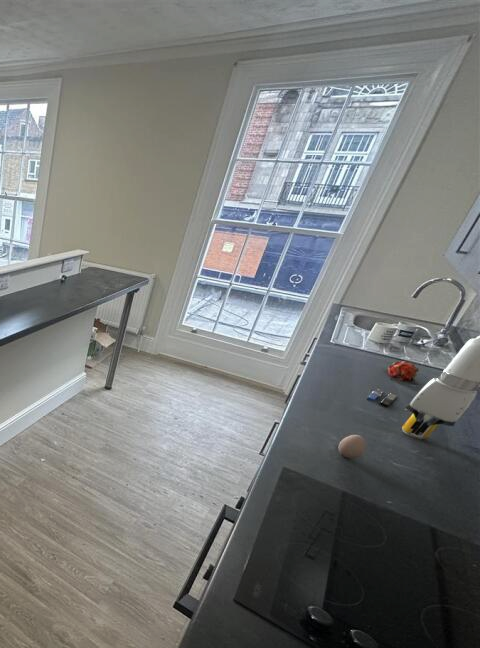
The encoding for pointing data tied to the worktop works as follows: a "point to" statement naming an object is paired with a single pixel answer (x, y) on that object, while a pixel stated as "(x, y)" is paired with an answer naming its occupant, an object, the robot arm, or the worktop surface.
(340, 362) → the worktop surface
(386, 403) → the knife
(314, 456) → the worktop surface
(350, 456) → the egg
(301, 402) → the worktop surface
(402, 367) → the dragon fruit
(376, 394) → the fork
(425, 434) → the beer can
